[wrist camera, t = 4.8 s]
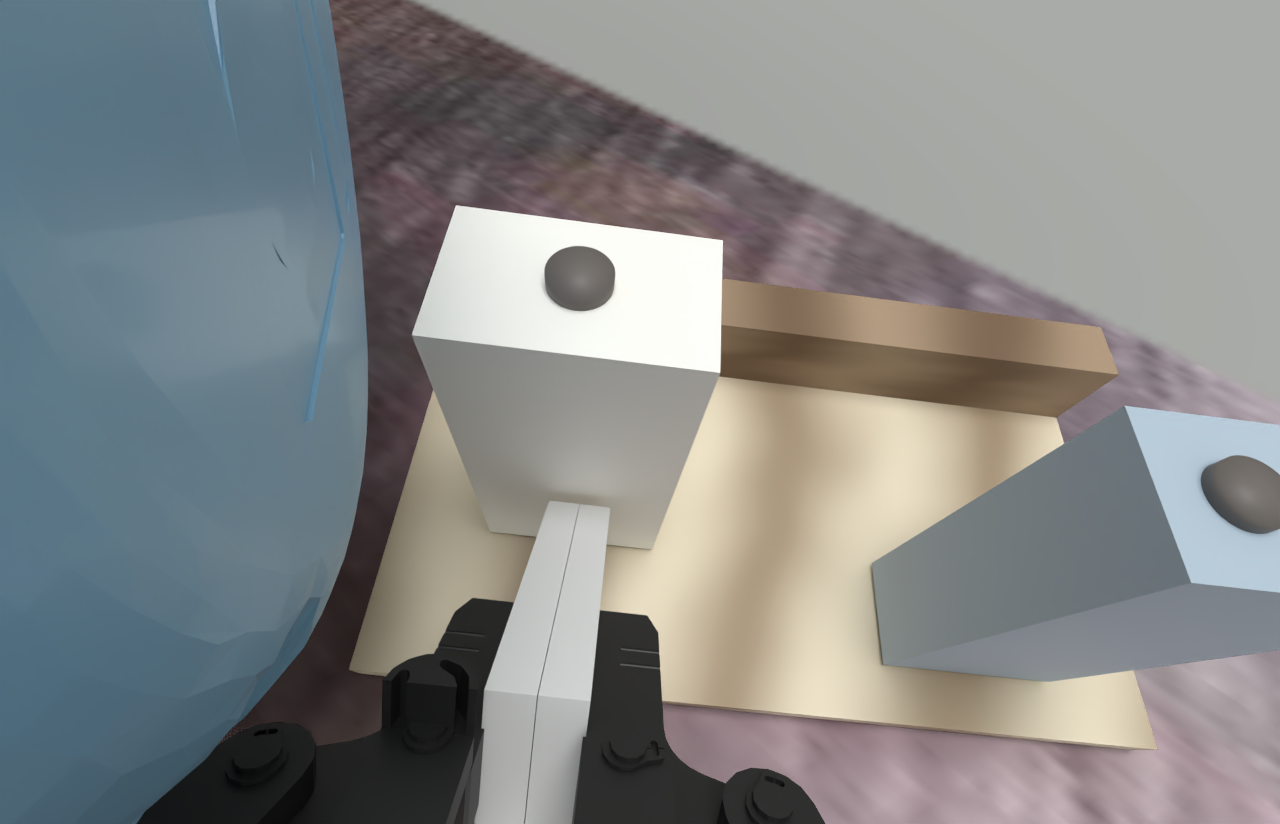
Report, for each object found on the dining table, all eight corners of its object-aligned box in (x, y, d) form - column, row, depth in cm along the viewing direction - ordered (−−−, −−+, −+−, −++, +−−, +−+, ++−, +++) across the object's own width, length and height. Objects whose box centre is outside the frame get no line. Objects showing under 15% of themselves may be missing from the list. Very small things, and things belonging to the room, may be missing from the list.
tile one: (489, 531, 18) (407, 323, 9) (510, 436, 20) (457, 181, 11) (652, 549, 18) (724, 362, 9) (659, 453, 20) (726, 216, 11)
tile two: (883, 664, 17) (1210, 577, 8) (870, 553, 19) (1133, 381, 10) (1048, 682, 18) (1540, 614, 9) (1021, 570, 19) (1411, 416, 10)
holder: (360, 673, 17) (305, 654, 14) (464, 317, 23) (445, 243, 20) (1129, 749, 18) (1262, 750, 14) (1026, 386, 24) (1100, 327, 21)
